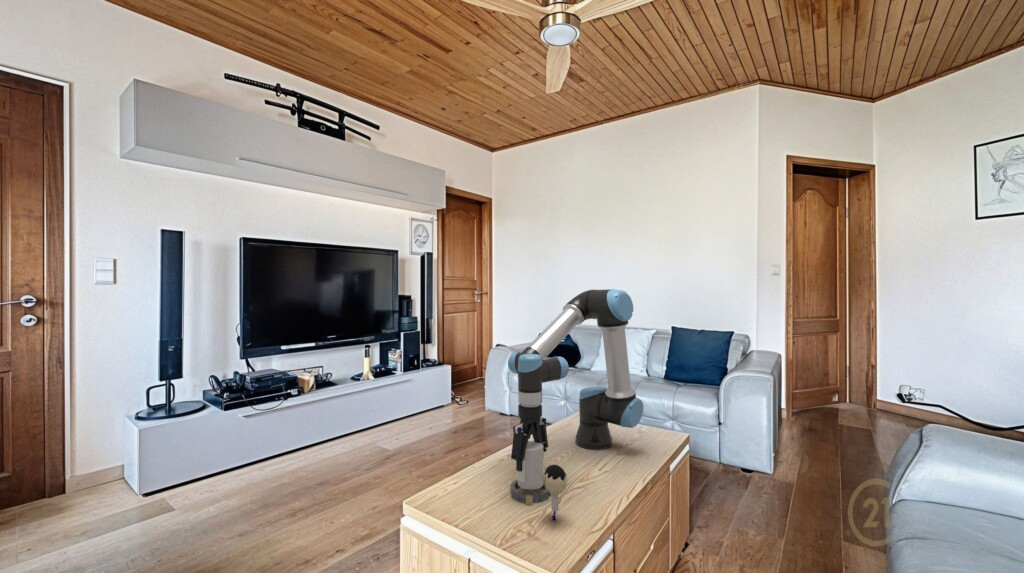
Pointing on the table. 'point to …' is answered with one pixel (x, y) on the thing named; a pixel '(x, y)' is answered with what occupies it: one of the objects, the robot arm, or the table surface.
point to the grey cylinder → (533, 466)
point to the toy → (555, 485)
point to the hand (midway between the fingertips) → (530, 476)
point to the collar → (527, 497)
